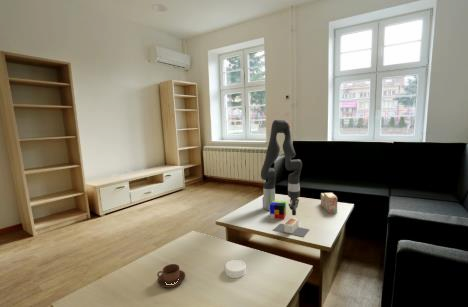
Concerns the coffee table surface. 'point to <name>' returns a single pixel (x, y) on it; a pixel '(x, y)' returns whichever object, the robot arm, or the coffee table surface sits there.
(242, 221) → the coffee table surface
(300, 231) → the mat
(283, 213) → the puzzle toy
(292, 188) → the robot arm
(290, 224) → the tall block
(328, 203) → the stack of blocks
